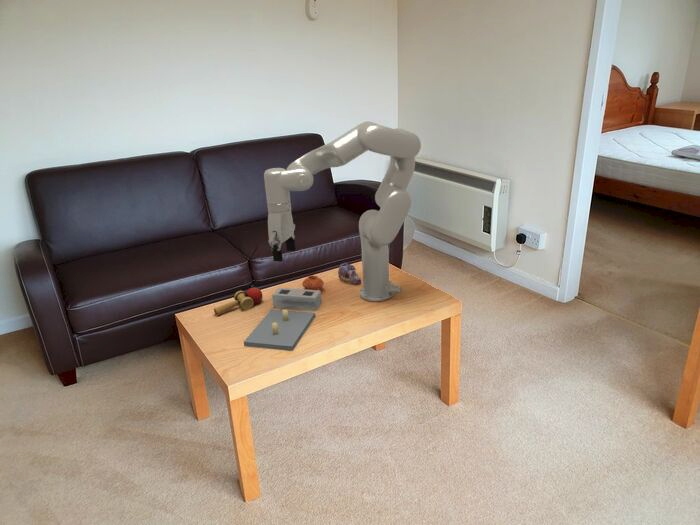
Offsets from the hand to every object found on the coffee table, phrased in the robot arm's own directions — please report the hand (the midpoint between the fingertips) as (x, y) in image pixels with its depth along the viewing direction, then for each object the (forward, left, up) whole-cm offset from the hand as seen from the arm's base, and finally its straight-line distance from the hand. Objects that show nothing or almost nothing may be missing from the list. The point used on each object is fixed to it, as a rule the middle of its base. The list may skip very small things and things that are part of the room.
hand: (284, 255), depth 175 cm
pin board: (-3, +15, -20) cm, 25 cm away
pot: (-4, -15, -20) cm, 26 cm away
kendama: (+19, +2, -21) cm, 28 cm away
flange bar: (-2, -3, -20) cm, 20 cm away
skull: (-15, -27, -21) cm, 37 cm away
